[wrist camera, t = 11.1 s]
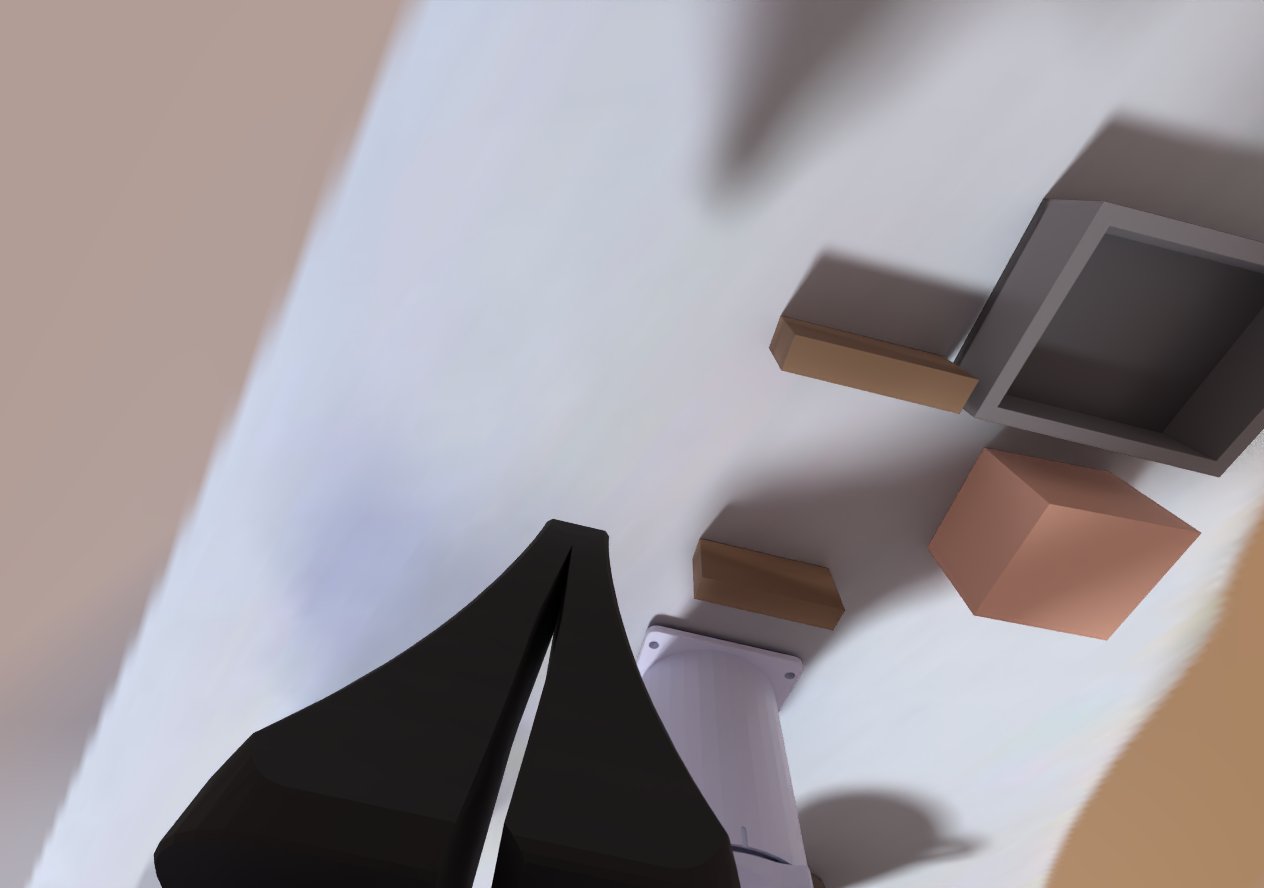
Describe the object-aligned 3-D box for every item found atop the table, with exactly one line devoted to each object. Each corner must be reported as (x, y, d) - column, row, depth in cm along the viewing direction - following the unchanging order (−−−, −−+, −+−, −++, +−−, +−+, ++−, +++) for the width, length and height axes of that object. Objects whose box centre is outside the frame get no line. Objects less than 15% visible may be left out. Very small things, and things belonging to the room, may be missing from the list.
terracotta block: (1037, 567, 22) (1107, 640, 18) (925, 545, 22) (973, 615, 18) (1107, 470, 20) (1201, 533, 16) (982, 446, 20) (1049, 503, 16)
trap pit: (1155, 442, 19) (1219, 477, 17) (938, 389, 19) (974, 417, 16) (1299, 265, 16) (1401, 278, 14) (1043, 198, 16) (1103, 200, 13)
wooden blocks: (818, 587, 23) (832, 630, 21) (692, 558, 23) (693, 598, 21) (942, 355, 18) (979, 379, 16) (780, 316, 18) (795, 334, 16)
